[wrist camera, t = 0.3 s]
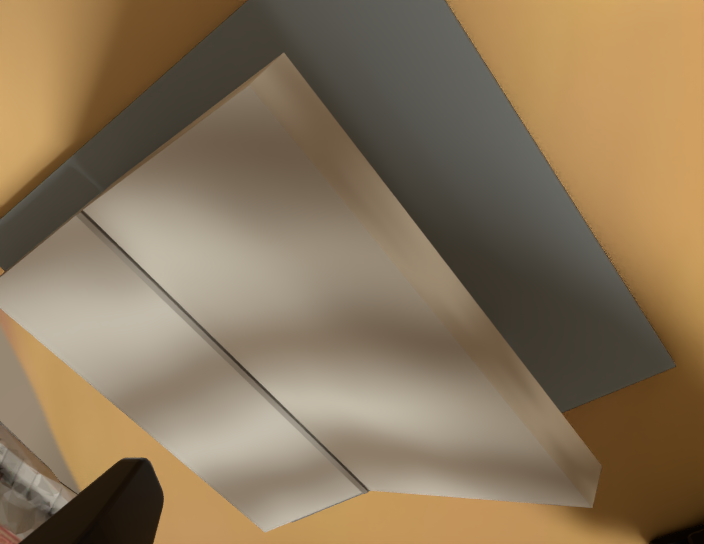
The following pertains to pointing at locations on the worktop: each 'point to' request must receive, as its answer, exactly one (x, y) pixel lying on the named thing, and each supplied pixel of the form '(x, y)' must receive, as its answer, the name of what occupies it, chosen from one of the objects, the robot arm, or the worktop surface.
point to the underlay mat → (404, 174)
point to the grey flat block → (170, 375)
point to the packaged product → (26, 489)
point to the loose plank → (340, 302)
